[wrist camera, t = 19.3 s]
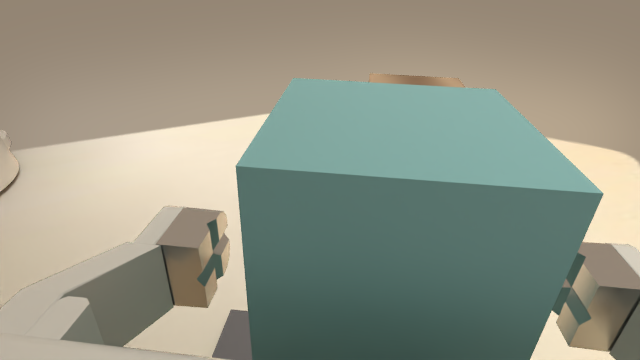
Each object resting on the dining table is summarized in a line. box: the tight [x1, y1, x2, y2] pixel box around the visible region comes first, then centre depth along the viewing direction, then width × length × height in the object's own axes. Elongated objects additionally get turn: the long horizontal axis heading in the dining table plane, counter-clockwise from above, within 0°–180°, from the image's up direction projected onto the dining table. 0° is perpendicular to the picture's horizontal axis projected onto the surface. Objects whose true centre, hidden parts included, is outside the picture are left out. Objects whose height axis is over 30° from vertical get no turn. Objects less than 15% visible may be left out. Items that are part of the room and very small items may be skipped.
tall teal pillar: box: [236, 78, 603, 360], centre depth 10 cm, size 4×4×12 cm
